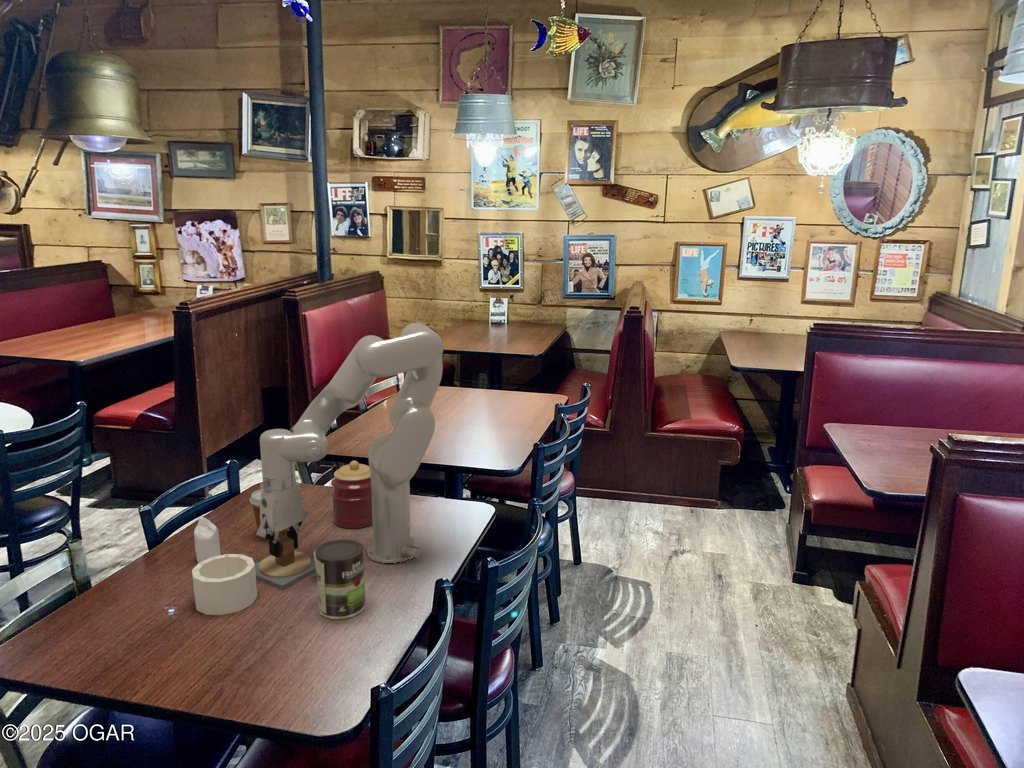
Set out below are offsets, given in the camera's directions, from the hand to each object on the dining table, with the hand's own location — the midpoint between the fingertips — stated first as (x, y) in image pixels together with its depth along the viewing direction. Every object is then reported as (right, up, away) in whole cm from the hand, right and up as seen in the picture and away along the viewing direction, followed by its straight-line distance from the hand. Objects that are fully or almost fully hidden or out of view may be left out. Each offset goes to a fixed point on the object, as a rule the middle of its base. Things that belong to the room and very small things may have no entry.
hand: (284, 550), depth 180 cm
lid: (0, -4, +1) cm, 4 cm away
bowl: (-9, -8, -13) cm, 18 cm away
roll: (-21, -4, +6) cm, 22 cm away
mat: (0, -5, +1) cm, 5 cm away
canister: (+11, +2, +30) cm, 32 cm away
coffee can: (+18, -9, -15) cm, 25 cm away
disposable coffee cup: (-9, 0, +20) cm, 22 cm away
